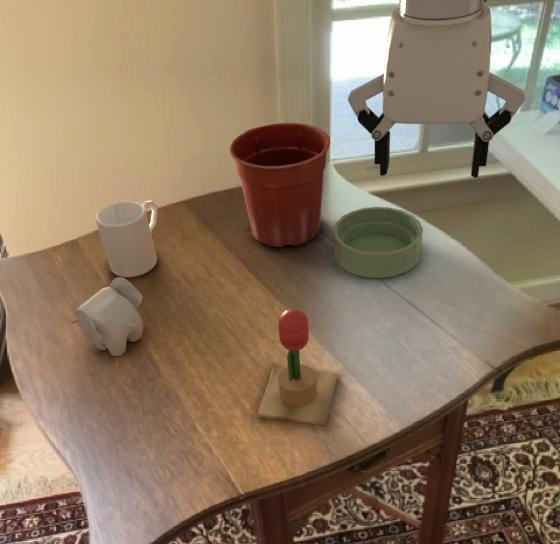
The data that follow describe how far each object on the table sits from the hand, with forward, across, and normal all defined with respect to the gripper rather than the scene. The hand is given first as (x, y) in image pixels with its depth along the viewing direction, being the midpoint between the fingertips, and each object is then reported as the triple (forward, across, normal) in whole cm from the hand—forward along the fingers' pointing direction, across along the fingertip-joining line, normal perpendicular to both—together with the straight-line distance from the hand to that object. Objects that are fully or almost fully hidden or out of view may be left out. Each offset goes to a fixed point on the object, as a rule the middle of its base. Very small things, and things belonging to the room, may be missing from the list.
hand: (428, 170), depth 72 cm
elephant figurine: (+27, +44, +2) cm, 52 cm away
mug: (+27, +48, -19) cm, 59 cm away
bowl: (+28, +8, -24) cm, 38 cm away
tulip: (+27, +15, +10) cm, 32 cm away
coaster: (+28, +15, +10) cm, 33 cm away
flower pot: (+28, +25, -31) cm, 48 cm away
